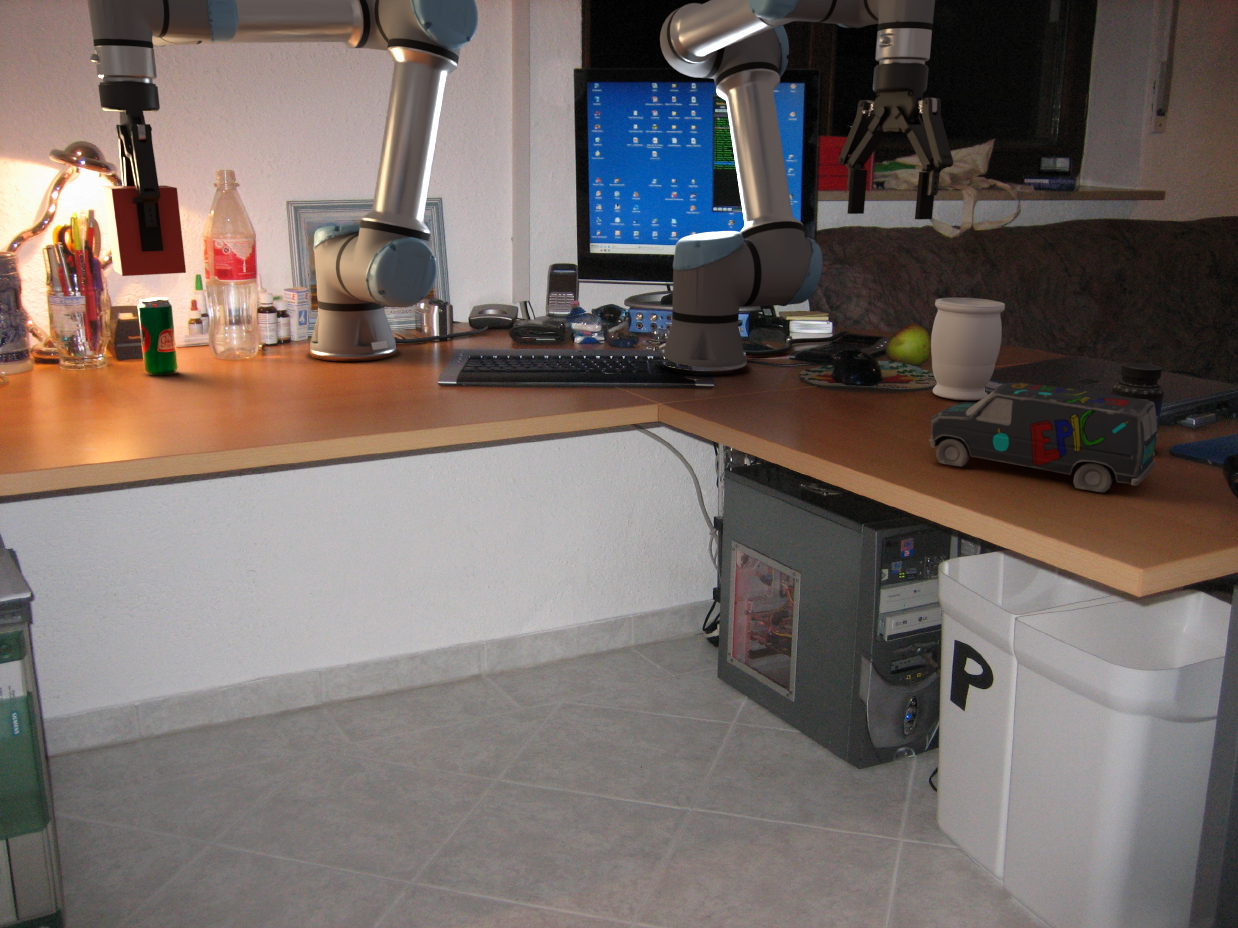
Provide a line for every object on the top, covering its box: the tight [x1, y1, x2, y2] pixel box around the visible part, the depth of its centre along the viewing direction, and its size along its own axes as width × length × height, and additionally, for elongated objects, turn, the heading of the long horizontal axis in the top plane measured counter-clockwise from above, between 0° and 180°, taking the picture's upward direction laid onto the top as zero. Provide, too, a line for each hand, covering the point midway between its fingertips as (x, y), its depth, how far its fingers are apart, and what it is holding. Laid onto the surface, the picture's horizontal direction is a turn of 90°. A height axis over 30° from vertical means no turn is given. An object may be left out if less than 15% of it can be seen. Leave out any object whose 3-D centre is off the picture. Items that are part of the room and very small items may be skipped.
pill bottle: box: [1110, 362, 1165, 431], centre depth 139 cm, size 6×6×11 cm
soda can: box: [137, 297, 179, 376], centre depth 174 cm, size 5×5×12 cm
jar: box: [930, 297, 1006, 401], centre depth 168 cm, size 11×10×15 cm
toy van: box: [928, 382, 1159, 493], centre depth 129 cm, size 11×25×10 cm, turn 54°
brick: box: [102, 185, 187, 277], centre depth 153 cm, size 8×8×12 cm
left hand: (147, 248), depth 154 cm, fingers closed on brick, 8 cm apart
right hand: (888, 216), depth 158 cm, fingers open, 13 cm apart
